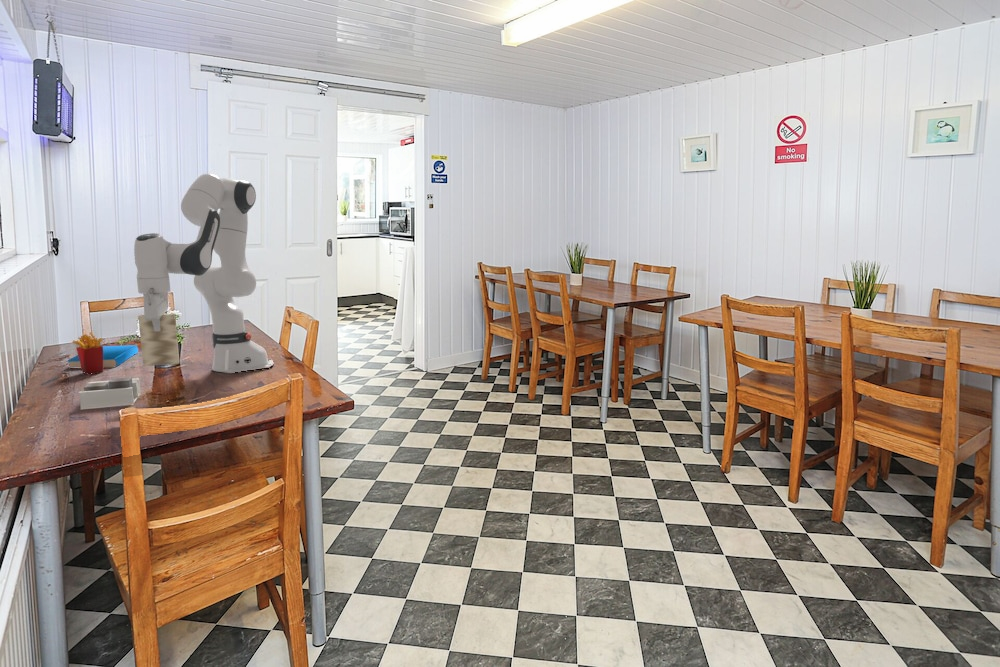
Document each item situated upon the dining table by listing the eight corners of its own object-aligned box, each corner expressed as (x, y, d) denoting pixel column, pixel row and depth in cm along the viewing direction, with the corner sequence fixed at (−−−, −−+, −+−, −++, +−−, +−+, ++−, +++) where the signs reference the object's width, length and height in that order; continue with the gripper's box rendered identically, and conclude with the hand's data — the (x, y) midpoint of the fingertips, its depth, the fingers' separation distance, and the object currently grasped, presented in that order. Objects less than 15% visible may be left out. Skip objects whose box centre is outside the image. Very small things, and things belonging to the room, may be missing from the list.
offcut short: (110, 400, 196) (107, 382, 195) (107, 404, 192) (104, 385, 191) (89, 402, 194) (87, 383, 193) (86, 406, 191) (83, 387, 189)
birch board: (179, 362, 202) (174, 313, 199) (178, 363, 200) (174, 314, 197) (144, 364, 198) (139, 315, 195) (143, 366, 197) (138, 316, 194)
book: (67, 360, 239) (92, 345, 263) (68, 371, 240) (94, 355, 264) (117, 358, 243) (137, 343, 267) (118, 368, 244) (138, 353, 267)
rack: (141, 396, 205) (139, 377, 204) (133, 409, 192) (131, 389, 191) (92, 400, 201) (89, 381, 199) (80, 414, 188) (77, 393, 186)
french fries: (107, 371, 236) (102, 333, 233) (83, 376, 229) (77, 336, 226) (95, 368, 241) (90, 330, 238) (71, 373, 234) (66, 334, 231)
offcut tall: (134, 398, 198) (131, 377, 197) (131, 402, 195) (129, 380, 193) (113, 400, 196) (111, 378, 195) (110, 403, 193) (108, 382, 191)
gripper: (160, 290, 186) (164, 335, 189) (169, 282, 205) (173, 324, 207) (136, 291, 184) (141, 337, 186) (148, 283, 203) (152, 325, 205)
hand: (158, 330), depth 197 cm, fingers closed on birch board, 2 cm apart
